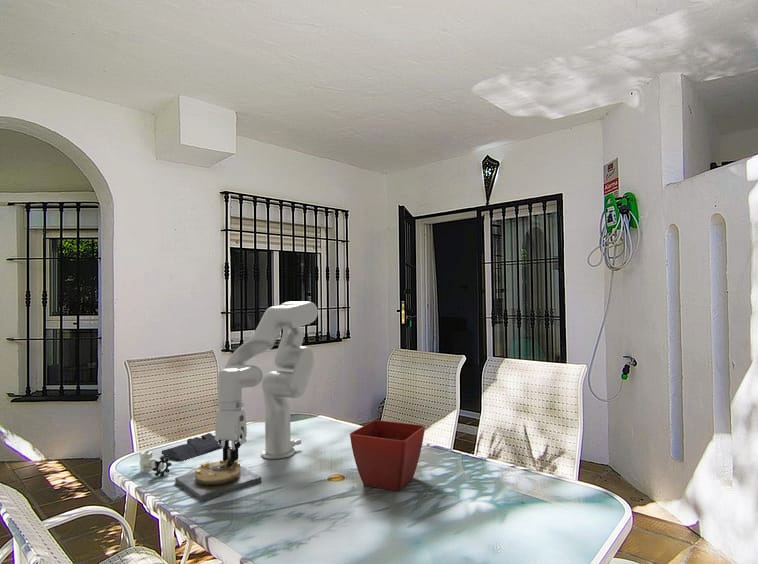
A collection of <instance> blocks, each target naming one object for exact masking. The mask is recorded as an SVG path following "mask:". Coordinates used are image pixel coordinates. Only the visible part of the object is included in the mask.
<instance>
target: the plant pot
mask: <svg viewBox="0 0 758 564" xmlns="http://www.w3.org/2000/svg"><path fill="white" fill-rule="evenodd" d="M425 428H426V426H425V425H424V424H423V425H422V424H414V423H405V422H396V421H387V420H379V419H373V420H372V421H370V422H368V423H366V424H365V425H363V426H360V427H359V428H358V429H355V430H353V431H352V432H350V433H349V439H350V443H351V449H352V454H353V457H354V462H355V465H356V469H357V471H358V474H359V477H360V480H361V482H362V484H363V486H367V487H373V488H379V489H384V490H387V491H395V492H399V491H401V490H403V489H404V487H405V486H406V485H407V484H408V483H409V482H411V480H413V478H414V476H415V473H416V470H417V467H418V463H419V459H420V455H421V453H422V452H421V451H422V447H423V443H424V442H423V441H424V437H425Z"/></svg>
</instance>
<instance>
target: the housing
mask: <svg viewBox="0 0 758 564" xmlns="http://www.w3.org/2000/svg"><path fill="white" fill-rule="evenodd" d="M240 469H241V474H240V476H239V477H238V478H237V479H235V480H233V481H230V482H227V483H223V484H216V485H204V484H200V483H197V482H196V480H195V472H192V473H188V474H185V475H181V476H177V477H175V478H174V479H175V480H174V481H175V482H174V483H175V484H176V485H178V486H179V487H181V488H182V489H184V490H185V491H186V492H188V493H189V494H190V495H192V496H193V497H195V498H197V499H198V500H199V501H200V502H203V501H207V500H210V499H212V498H216V497H219V496H222V495H225V494H228V493H229V494H230V493H232V492H234V491H237V490H241V489H244V488H247V487H251V486H253V485H257V484H260V483H262V476H261V475H258V474H257V473H255V472H253V471H251V470H248V469H247V468H244V467H243V466H241V465H240Z"/></svg>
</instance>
